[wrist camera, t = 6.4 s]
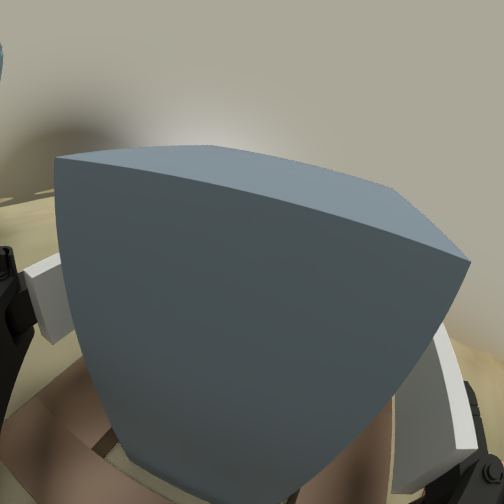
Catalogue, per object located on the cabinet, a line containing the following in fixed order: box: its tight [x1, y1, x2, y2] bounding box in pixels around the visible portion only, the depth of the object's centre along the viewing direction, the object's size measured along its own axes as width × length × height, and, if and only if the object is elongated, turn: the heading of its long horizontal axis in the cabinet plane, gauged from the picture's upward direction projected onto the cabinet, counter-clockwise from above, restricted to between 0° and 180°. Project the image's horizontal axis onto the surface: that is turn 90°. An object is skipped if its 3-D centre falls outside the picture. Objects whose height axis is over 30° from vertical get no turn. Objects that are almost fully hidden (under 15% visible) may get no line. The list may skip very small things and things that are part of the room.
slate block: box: [54, 145, 471, 504], centre depth 8 cm, size 6×6×12 cm
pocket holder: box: [0, 356, 392, 504], centre depth 10 cm, size 16×16×2 cm
